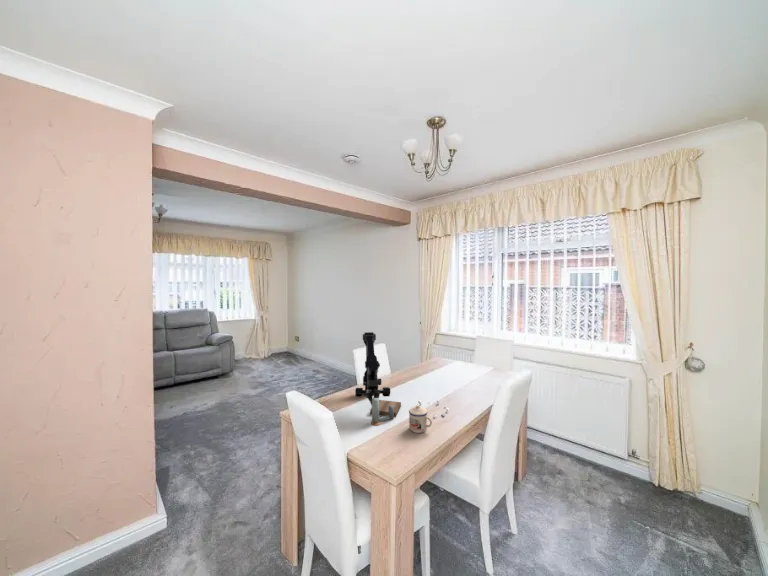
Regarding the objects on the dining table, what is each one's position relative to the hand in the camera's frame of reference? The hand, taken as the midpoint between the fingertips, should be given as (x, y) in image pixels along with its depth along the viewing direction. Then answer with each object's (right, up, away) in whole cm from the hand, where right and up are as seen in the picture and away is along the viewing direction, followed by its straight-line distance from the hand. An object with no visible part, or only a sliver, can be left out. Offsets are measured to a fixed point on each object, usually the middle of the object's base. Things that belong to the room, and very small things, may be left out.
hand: (373, 407), depth 153 cm
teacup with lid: (+24, -7, -9) cm, 26 cm away
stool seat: (+5, -7, +7) cm, 11 cm away
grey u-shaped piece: (+5, -6, 0) cm, 8 cm away
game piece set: (+32, -7, +12) cm, 35 cm away
